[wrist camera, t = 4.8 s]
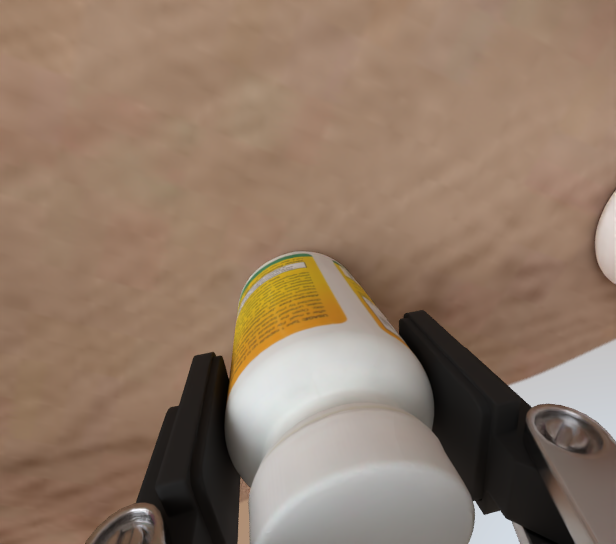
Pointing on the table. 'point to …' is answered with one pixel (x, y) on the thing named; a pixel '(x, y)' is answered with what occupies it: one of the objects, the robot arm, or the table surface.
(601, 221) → the water bottle
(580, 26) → the table surface
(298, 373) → the supplement bottle
